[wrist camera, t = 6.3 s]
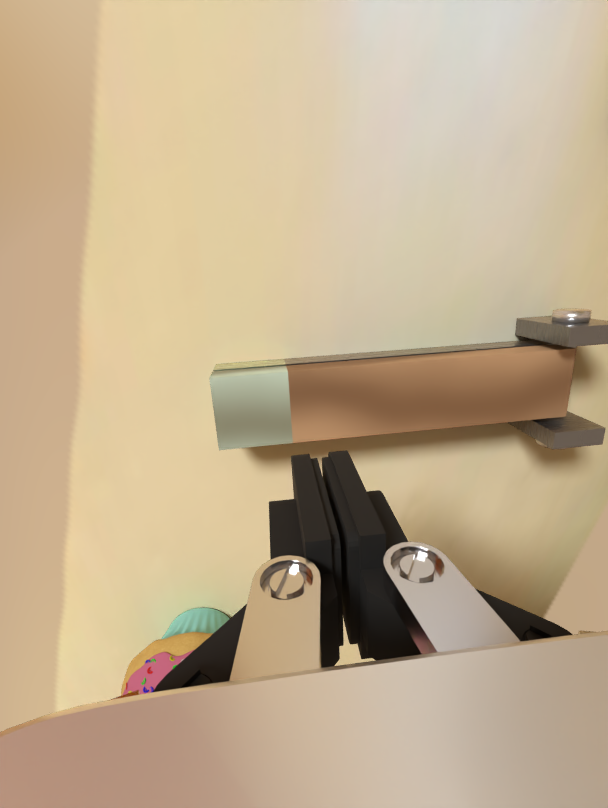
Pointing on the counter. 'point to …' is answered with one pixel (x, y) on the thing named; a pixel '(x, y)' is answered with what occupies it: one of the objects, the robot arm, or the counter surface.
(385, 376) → the bar
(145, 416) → the counter surface
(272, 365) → the base
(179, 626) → the cupcake
